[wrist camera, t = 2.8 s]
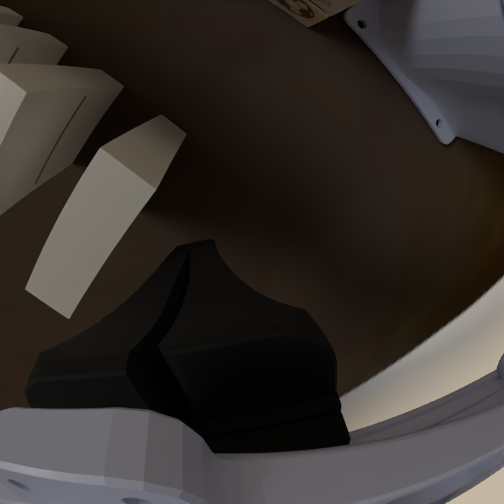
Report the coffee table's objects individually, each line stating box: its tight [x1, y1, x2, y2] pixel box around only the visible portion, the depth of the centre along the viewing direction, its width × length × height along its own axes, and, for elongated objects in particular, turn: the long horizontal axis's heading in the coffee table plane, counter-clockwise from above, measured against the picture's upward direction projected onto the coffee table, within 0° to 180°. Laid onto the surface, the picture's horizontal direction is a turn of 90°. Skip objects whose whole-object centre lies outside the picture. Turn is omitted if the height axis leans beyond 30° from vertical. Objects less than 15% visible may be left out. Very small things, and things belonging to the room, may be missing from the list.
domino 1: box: [26, 114, 187, 319], centre depth 11 cm, size 2×5×9 cm, turn 138°
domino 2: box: [0, 64, 124, 215], centre depth 9 cm, size 2×5×9 cm, turn 138°
